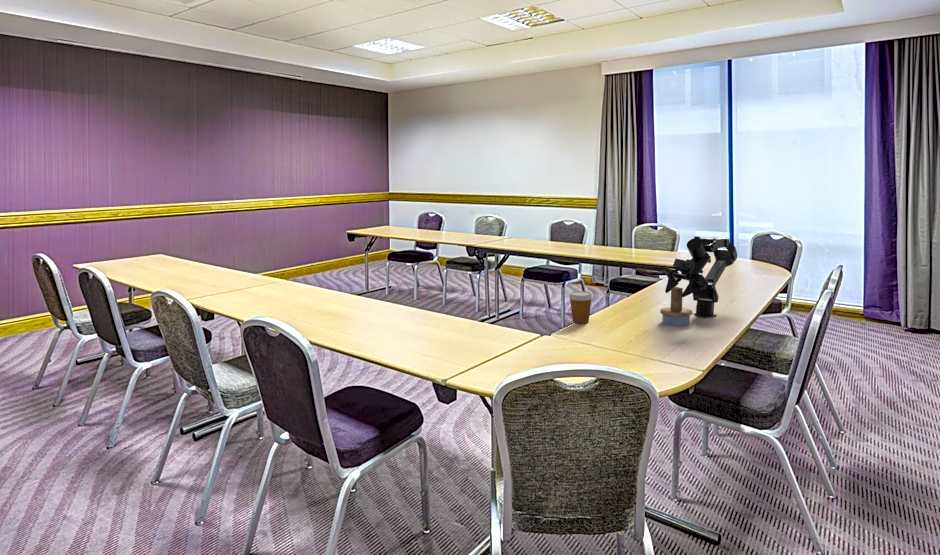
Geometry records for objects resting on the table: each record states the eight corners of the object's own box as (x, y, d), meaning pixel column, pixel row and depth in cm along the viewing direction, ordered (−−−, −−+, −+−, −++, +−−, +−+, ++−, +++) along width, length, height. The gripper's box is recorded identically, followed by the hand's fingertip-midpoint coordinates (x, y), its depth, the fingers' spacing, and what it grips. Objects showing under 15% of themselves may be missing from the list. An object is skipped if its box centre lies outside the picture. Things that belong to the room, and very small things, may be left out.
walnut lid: (677, 307, 245) (678, 284, 243) (699, 314, 234) (700, 289, 232) (653, 311, 240) (654, 287, 238) (674, 317, 229) (675, 292, 228)
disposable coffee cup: (592, 325, 237) (592, 295, 235) (568, 324, 239) (568, 295, 237) (592, 319, 247) (592, 291, 244) (569, 319, 248) (569, 290, 246)
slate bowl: (676, 318, 244) (677, 308, 243) (694, 323, 235) (695, 313, 234) (657, 321, 240) (657, 311, 240) (674, 327, 231) (674, 317, 231)
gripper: (669, 248, 243) (646, 278, 240) (703, 254, 226) (679, 285, 224) (684, 266, 247) (661, 295, 245) (718, 272, 230) (695, 303, 228)
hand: (673, 294), depth 235 cm, fingers open, 9 cm apart
